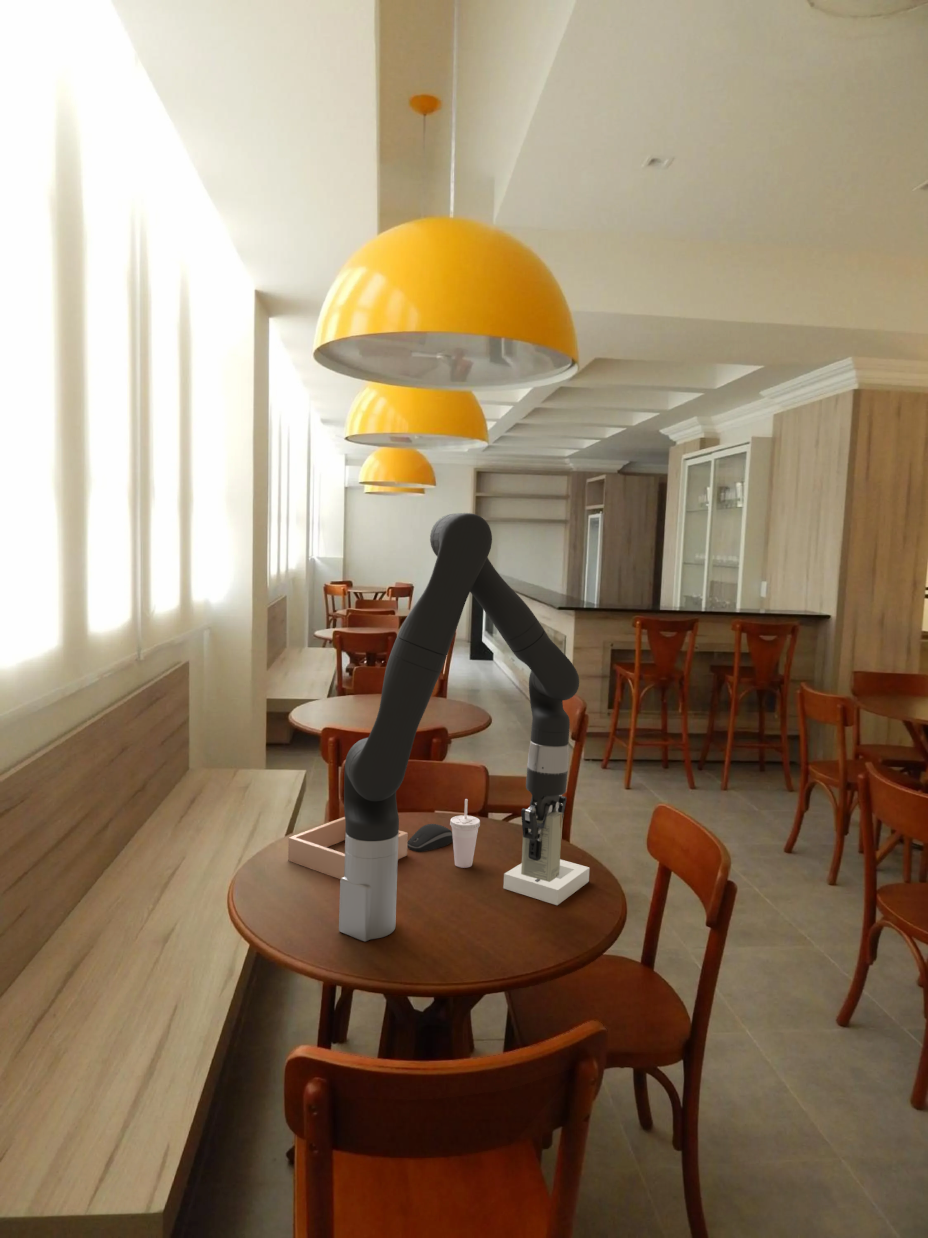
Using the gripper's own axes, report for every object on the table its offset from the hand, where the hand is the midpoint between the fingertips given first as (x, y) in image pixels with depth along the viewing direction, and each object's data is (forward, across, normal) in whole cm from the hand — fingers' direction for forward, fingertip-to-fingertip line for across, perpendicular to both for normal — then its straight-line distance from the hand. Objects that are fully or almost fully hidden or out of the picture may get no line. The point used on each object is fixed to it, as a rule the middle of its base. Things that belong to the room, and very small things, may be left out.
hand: (540, 855), depth 149 cm
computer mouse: (+11, +14, +35) cm, 39 cm away
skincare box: (+4, 0, 0) cm, 4 cm away
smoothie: (+11, +8, +22) cm, 26 cm away
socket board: (+10, +10, +4) cm, 15 cm away
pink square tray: (+11, -4, +44) cm, 45 cm away
